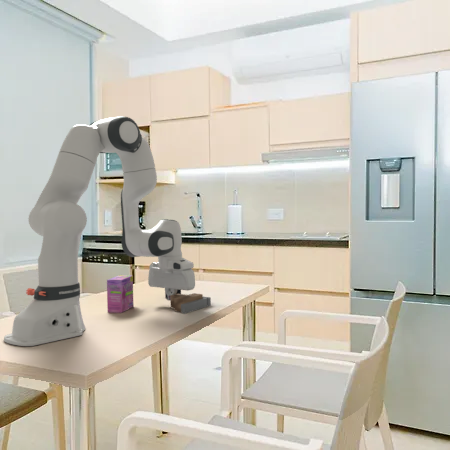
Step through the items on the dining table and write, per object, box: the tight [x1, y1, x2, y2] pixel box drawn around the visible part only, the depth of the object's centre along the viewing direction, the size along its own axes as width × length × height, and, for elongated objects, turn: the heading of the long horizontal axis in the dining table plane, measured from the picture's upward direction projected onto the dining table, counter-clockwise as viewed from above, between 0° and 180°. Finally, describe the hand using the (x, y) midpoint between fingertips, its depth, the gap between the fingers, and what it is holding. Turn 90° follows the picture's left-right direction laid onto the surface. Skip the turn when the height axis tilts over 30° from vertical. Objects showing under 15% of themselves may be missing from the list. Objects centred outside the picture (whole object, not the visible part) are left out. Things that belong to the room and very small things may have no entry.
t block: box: [169, 293, 204, 313], centre depth 163 cm, size 9×11×4 cm
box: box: [106, 274, 135, 314], centre depth 163 cm, size 10×6×12 cm, turn 168°
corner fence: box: [180, 296, 212, 314], centre depth 163 cm, size 15×10×3 cm, turn 145°
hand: (171, 300), depth 167 cm, fingers closed
